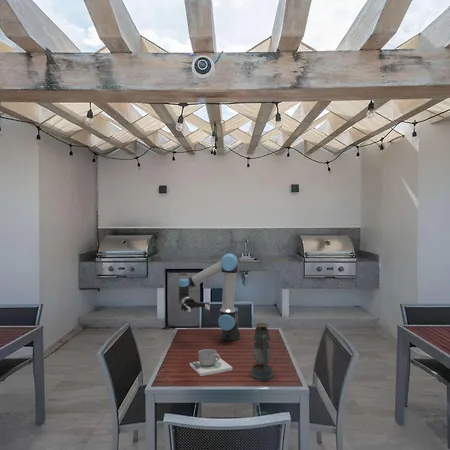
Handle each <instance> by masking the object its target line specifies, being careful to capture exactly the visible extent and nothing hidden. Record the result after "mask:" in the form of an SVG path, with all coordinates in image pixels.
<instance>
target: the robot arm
mask: <svg viewBox="0 0 450 450" xmlns="http://www.w3.org/2000/svg"><path fill="white" fill-rule="evenodd" d="M240 260H241V259H240V257H239V255H238V254H237V253H235V252H228V253H226V254H224V255H223V256H222V257H221V258H220V259H219V261H217V262H215V263H214V264H213V265H211V266H209V267H206V268H205V269H203V270H201V271H200V272H198V273H196V274H194V275H193V276H190V277H189V278H180V279H178V283H177V284H178V296H177V297H176V300H177V304H179V305H180V307H181V308H180V311H184V312H186V311H187V312H188V313H191V310H193V309H194V308H205V309H206V310H208V311H210V309H211V307H210V303H209V302H203V301H195V299H193V298H191V297H190V290H191V289H192V288H195V287H196V286H198V285H199V284H200V285H201V284H202V283H203V282H205V281H207V280H209V279H210V278H212V277H215V276H216V275H218V274H220V273H221V274H223V277H222V298H221V300H222V302H221V308H220V309H219V318H218V321H217V322H218V323H217V324H218V326H219V328H220V329H221V332H220V337H219V338H220V339H221V340H222V341H226V342H229V341H230V342H231V341H232V342H234V341H238V340H240V339H241V332H240V330H239V309H238V307H235V295H236V294H235V293H236V292H235V291H236V290H235V288H236V275H237V274H238V271H239V265H240Z"/></svg>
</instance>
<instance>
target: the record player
mask: <svg viewBox="0 0 450 450" xmlns="http://www.w3.org/2000/svg"><path fill="white" fill-rule="evenodd" d="M217 359H218V357H216V360H217ZM189 366H190V367H191V368H192V369H193V370H194V371H195V372H196V373H197V374H198V375H199V376H200V377H202V376H203V377H204V376H210V375H214V374H219V373H224V372H229V371H233V366H231V365H230V363H227V362H226V361H224V360H223V359H222V358H221V357H220V359H219V360H218V361H217V362H216V363H214V364H213V365H212V366H203V365H202V364H201V363H200V362H199V360H198V361H194V362H193V361H192V360H191V361H190V362H189Z"/></svg>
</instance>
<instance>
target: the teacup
mask: <svg viewBox="0 0 450 450" xmlns="http://www.w3.org/2000/svg"><path fill="white" fill-rule="evenodd" d="M216 358H218V359H217V360H216ZM220 358H221V356H220V354H219V353H217V350H216V349H213V348H212V349H210V348H208V349H206V348H205V349H201V350H198V361H199V362H200V363H201V364H202V365H203V366H212V365H213V364H214V363H216V362H217V361H218V360H219V359H220Z"/></svg>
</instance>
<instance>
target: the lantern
mask: <svg viewBox="0 0 450 450" xmlns="http://www.w3.org/2000/svg"><path fill="white" fill-rule="evenodd" d="M254 326H255V327H256V328H255V329H254V332H255V333H254V334H253V339H252V341H255V342H254V344H253V351H252V357H253V359H254V360H255V364H253V365H252V368H251V373H250V377H251V379H253V380H254V379H255V380H257V381H268V380H271V379H273V378H274V373H273V368H272V366H271V365H269V361H270V359H272V361H273V362H274V363H275V365H277V366H278V365H279V363H278V361H277V358H276V357H275V354H274V352H273V350H272V347H271V344H270V343H269V342H270V341H271V340H272V339H271V338H270V333H269V332H270V331H269V329H268V327H269V326H270V325H269V323H266V322H265V323H264V322H259V323H254ZM271 354H272V355H273V357H272V355H271ZM273 358H274V359H273Z"/></svg>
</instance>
